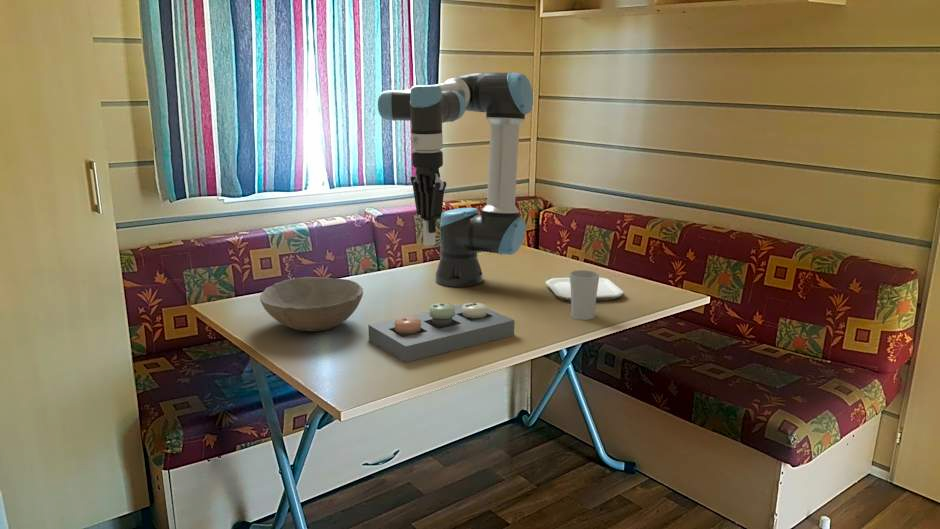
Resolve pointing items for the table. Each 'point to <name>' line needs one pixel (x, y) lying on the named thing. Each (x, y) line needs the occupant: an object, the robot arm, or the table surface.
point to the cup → (583, 293)
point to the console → (440, 335)
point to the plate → (604, 289)
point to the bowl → (312, 302)
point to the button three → (474, 311)
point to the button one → (407, 326)
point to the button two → (442, 314)
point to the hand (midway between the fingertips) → (429, 244)
